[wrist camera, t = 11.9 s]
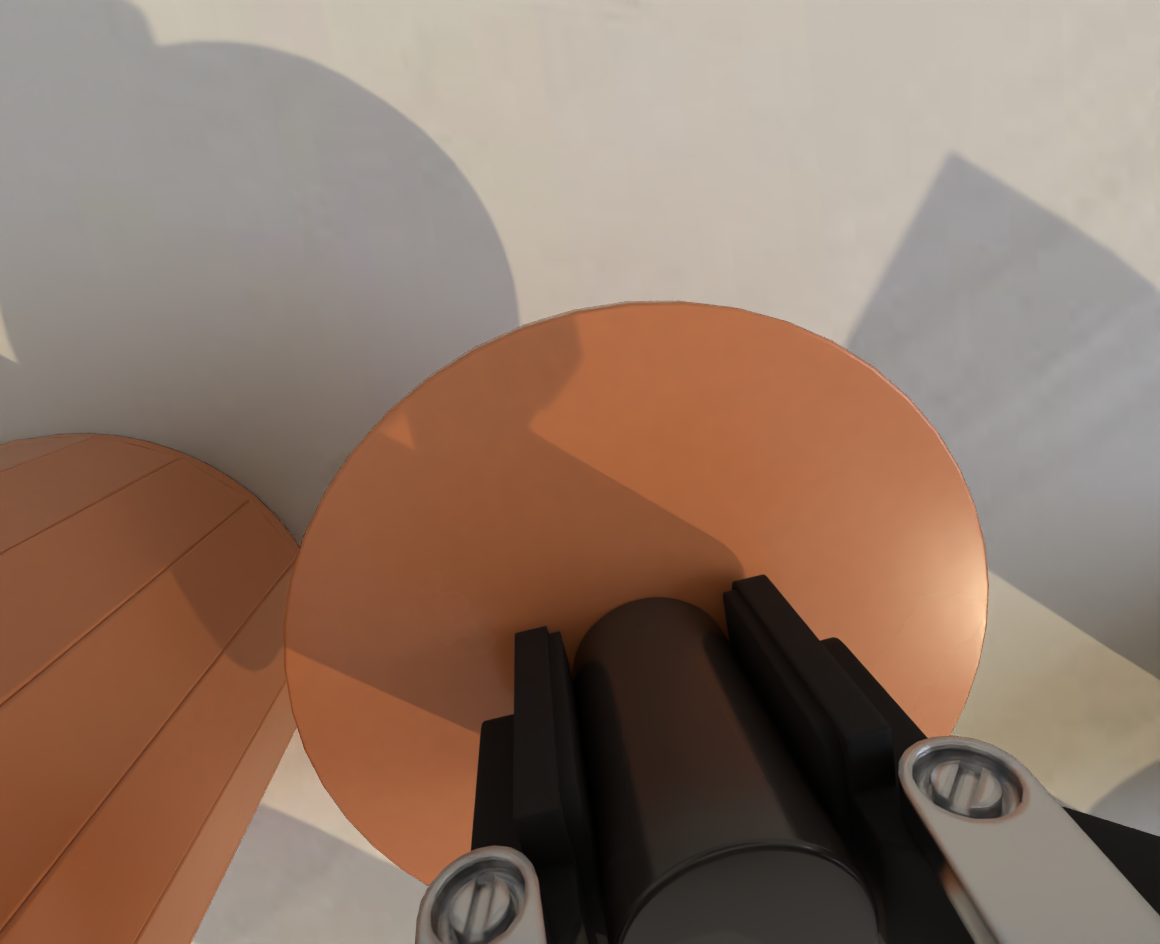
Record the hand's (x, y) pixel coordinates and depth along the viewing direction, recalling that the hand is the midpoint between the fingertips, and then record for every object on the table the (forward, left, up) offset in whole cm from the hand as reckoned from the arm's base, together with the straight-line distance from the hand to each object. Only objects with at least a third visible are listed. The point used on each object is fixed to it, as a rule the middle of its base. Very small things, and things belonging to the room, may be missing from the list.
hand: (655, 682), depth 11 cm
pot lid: (0, 0, -1) cm, 1 cm away
